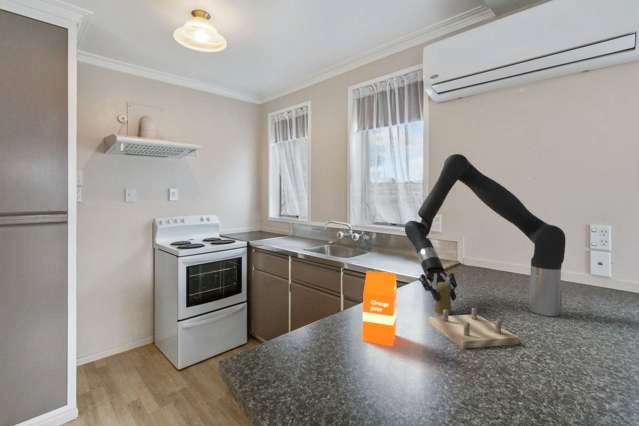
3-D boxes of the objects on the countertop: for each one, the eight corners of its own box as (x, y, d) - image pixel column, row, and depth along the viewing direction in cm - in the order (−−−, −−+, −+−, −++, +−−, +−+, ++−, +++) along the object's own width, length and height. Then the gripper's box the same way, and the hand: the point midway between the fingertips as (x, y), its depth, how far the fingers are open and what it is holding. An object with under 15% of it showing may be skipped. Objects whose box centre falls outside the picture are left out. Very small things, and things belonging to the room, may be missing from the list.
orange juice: (392, 346, 87) (394, 276, 86) (362, 340, 90) (363, 273, 89) (395, 334, 94) (397, 270, 93) (367, 330, 97) (368, 268, 96)
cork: (453, 315, 111) (454, 285, 110) (436, 313, 112) (436, 284, 112) (449, 309, 117) (450, 281, 116) (433, 308, 118) (434, 280, 117)
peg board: (476, 319, 107) (476, 304, 107) (518, 343, 89) (519, 325, 89) (429, 322, 104) (429, 306, 103) (463, 348, 86) (463, 329, 86)
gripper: (417, 256, 119) (432, 295, 108) (450, 255, 122) (468, 294, 111) (410, 266, 125) (424, 305, 114) (442, 266, 128) (459, 303, 116)
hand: (446, 299), depth 112 cm, fingers open, 6 cm apart
